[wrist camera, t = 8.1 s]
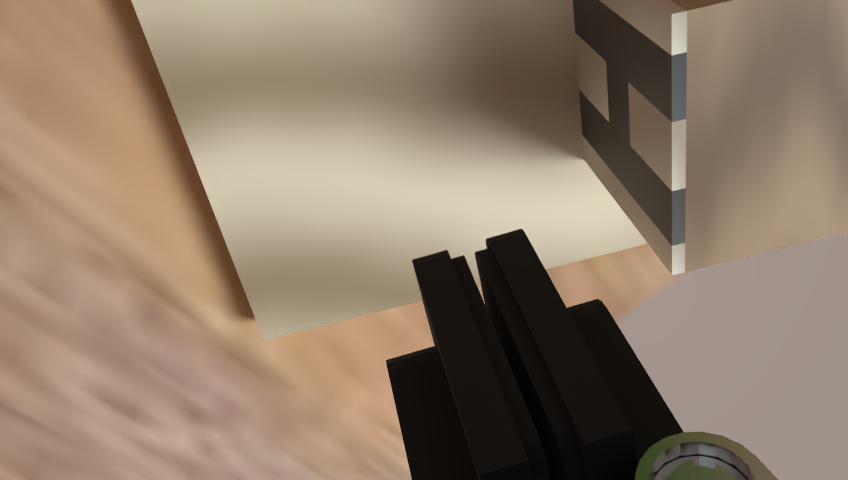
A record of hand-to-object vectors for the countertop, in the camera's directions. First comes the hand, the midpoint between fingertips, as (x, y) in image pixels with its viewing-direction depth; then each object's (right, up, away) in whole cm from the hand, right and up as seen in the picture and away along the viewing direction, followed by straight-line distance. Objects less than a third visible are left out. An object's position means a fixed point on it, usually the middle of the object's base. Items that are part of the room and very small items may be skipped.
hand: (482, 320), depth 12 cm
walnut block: (+4, +4, +7) cm, 9 cm away
